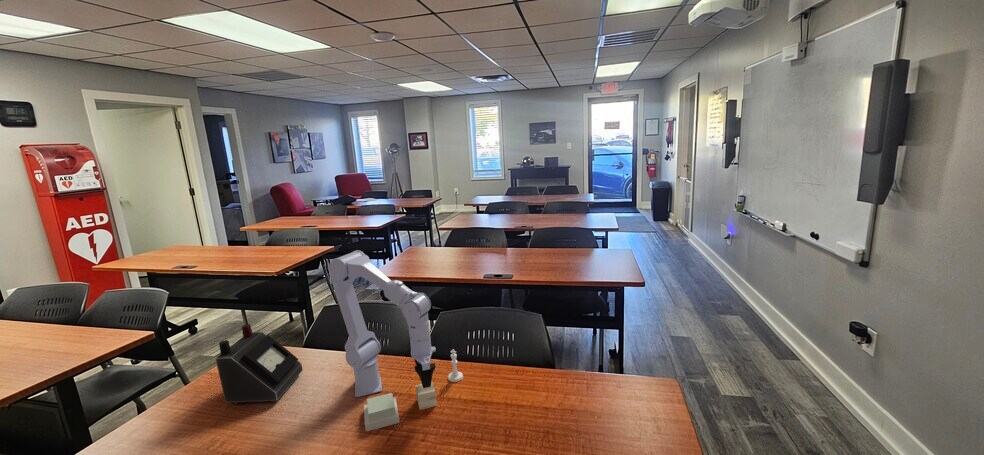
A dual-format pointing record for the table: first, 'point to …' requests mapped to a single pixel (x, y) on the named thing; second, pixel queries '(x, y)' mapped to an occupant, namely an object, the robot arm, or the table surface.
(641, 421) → the table surface
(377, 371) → the robot arm
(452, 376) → the chess piece
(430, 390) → the maple cube
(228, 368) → the voltmeter
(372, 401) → the tower top
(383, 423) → the tower base
